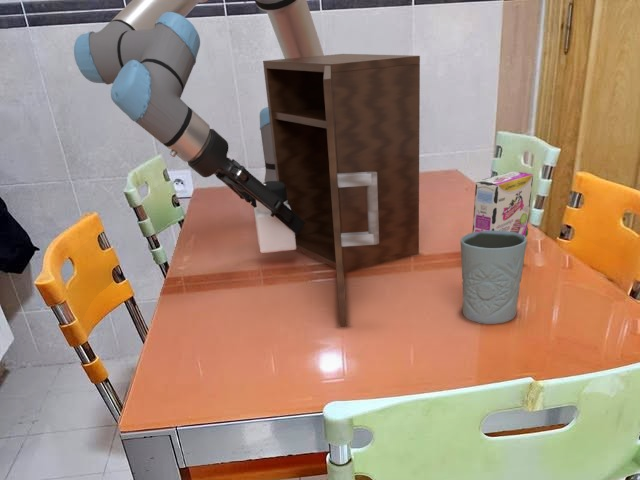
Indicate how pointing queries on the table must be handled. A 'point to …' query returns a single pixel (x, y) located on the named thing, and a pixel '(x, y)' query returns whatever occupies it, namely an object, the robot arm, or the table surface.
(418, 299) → the table surface
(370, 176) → the cupboard door
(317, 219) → the cupboard
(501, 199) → the food carton
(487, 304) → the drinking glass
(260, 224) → the medicine bottle
